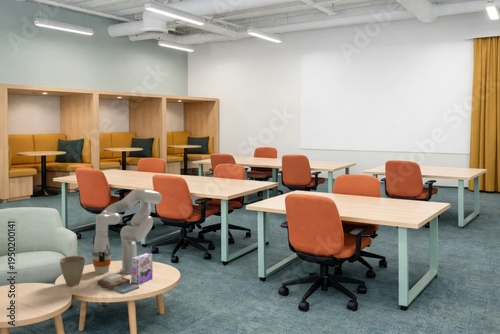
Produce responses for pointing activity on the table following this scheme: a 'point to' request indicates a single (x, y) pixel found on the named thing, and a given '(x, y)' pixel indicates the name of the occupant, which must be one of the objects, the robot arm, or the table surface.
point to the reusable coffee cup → (101, 266)
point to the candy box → (141, 268)
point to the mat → (125, 288)
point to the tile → (112, 277)
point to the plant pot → (72, 269)
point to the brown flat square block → (112, 285)
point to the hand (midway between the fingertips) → (101, 261)
